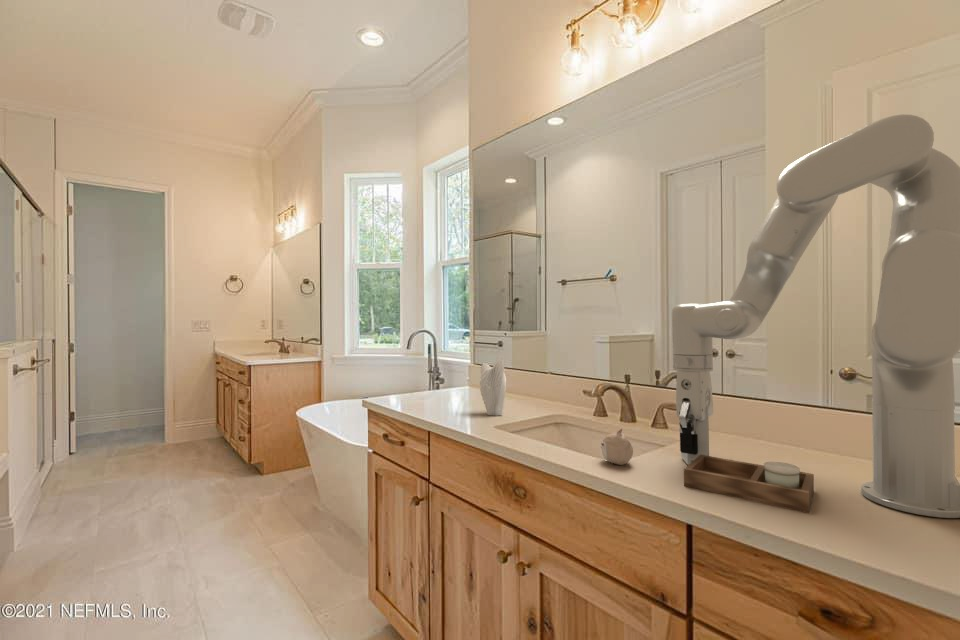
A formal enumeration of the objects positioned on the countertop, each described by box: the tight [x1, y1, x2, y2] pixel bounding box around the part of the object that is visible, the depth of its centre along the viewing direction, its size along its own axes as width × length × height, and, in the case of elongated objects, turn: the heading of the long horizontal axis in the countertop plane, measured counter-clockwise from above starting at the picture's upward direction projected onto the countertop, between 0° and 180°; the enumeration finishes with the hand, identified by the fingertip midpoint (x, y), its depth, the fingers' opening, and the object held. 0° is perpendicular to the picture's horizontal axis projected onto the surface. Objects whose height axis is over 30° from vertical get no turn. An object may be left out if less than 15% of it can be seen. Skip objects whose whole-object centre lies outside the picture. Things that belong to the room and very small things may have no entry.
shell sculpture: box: [479, 358, 507, 417], centre depth 143 cm, size 8×8×18 cm
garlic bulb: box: [600, 428, 634, 466], centre depth 94 cm, size 7×6×8 cm
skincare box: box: [680, 407, 710, 466], centre depth 93 cm, size 6×4×12 cm
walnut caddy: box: [683, 455, 815, 513], centre depth 79 cm, size 18×11×3 cm, turn 50°
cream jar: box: [763, 461, 801, 489], centre depth 76 cm, size 5×5×4 cm
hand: (694, 448), depth 93 cm, fingers closed on skincare box, 7 cm apart
